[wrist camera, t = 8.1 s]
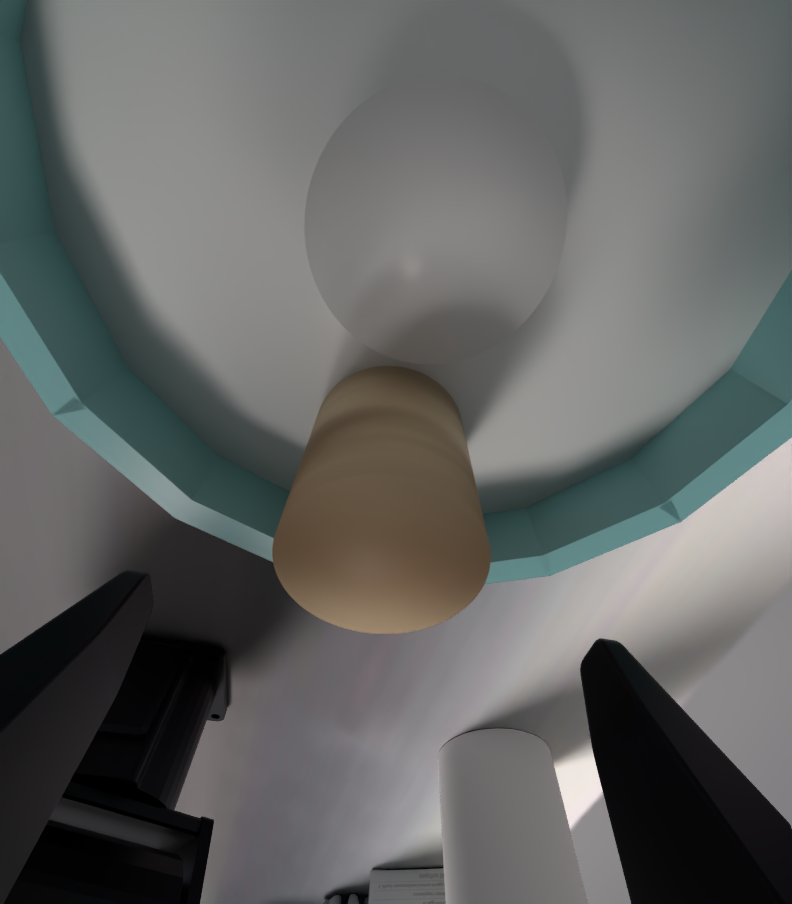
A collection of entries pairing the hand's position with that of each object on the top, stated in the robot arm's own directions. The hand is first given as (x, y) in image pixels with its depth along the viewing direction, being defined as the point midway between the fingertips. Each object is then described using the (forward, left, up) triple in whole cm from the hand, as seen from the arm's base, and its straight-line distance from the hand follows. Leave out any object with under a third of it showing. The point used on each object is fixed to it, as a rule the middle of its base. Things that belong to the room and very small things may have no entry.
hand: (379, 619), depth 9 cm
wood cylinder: (0, 0, -8) cm, 8 cm away
